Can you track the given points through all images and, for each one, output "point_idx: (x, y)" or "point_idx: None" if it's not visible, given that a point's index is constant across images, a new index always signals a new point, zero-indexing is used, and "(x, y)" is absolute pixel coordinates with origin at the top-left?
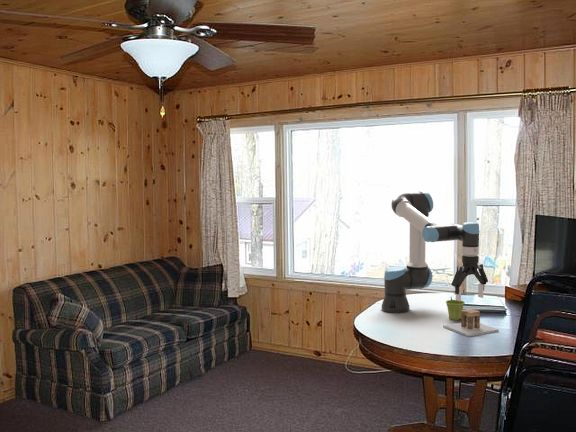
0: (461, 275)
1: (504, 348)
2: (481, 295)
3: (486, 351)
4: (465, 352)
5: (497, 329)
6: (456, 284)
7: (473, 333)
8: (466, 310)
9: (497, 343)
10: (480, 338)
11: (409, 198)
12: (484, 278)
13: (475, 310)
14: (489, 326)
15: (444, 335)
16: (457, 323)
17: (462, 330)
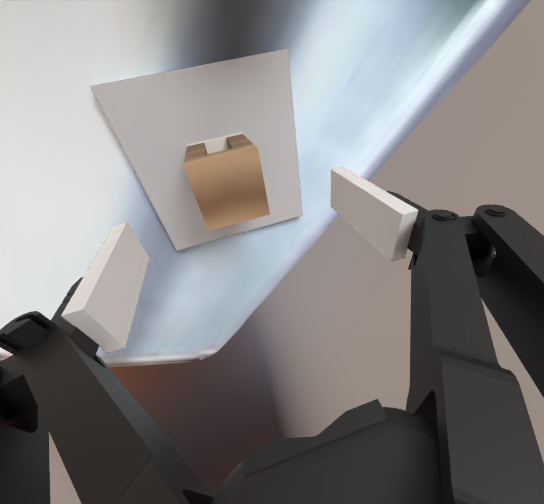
0: (98, 501)
1: (229, 327)
2: (338, 207)
3: (179, 342)
4: (123, 348)
5: (298, 215)
6: (34, 413)
7: (199, 242)
8: (211, 182)
9: (233, 301)
10: (209, 264)
11: None
12: (479, 281)
13: (259, 194)
14: (297, 176)
15: (82, 218)
16: (188, 80)
17: (171, 202)
